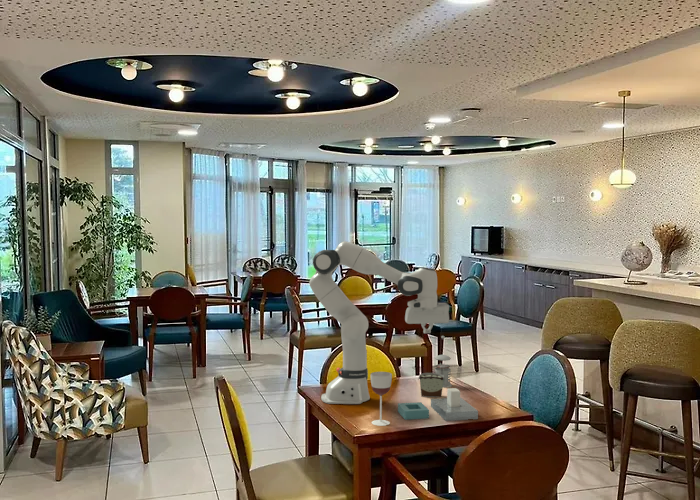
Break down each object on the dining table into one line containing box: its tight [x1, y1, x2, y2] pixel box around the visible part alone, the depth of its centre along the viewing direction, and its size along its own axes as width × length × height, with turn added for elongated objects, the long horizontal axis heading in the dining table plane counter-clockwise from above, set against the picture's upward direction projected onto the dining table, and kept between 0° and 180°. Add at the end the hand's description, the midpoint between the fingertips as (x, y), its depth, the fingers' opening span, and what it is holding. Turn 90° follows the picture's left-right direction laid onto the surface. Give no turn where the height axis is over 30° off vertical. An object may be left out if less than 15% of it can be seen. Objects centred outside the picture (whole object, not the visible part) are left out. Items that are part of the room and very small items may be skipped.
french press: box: [434, 335, 453, 389], centre depth 311 cm, size 10×12×25 cm
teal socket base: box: [397, 402, 430, 420], centre depth 263 cm, size 10×11×4 cm
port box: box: [430, 397, 479, 422], centre depth 266 cm, size 14×20×4 cm
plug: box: [446, 387, 461, 407], centre depth 266 cm, size 4×5×10 cm
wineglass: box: [370, 371, 393, 427], centre depth 252 cm, size 8×9×20 cm
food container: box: [418, 372, 445, 398], centre depth 294 cm, size 12×6×10 cm, turn 84°
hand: (427, 333), depth 284 cm, fingers closed
